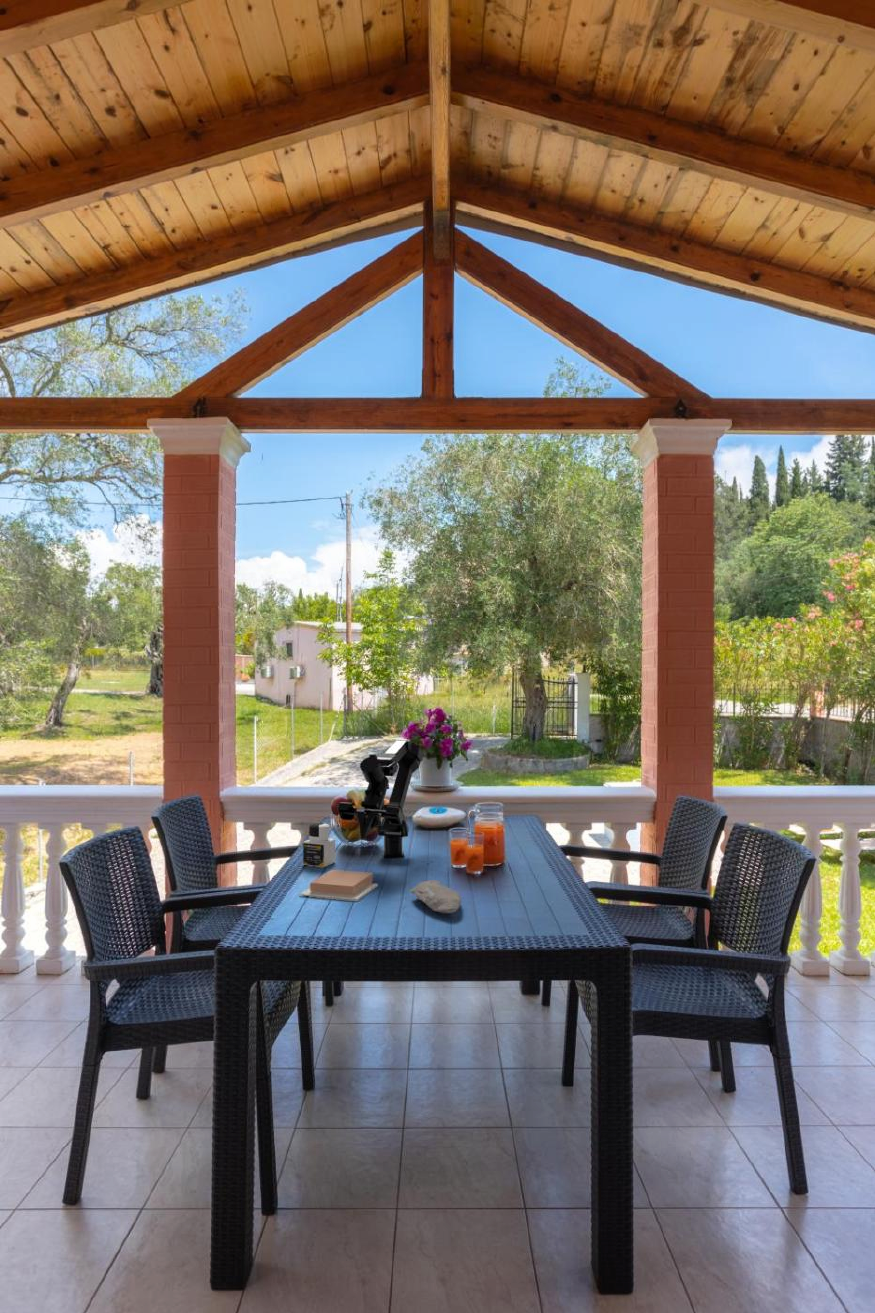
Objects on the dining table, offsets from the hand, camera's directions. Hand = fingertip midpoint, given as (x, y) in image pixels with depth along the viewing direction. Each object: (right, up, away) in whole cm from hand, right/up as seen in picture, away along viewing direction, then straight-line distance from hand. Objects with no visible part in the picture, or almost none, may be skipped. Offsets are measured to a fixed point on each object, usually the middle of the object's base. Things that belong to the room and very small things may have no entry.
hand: (362, 838), depth 233 cm
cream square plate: (-5, -10, -15) cm, 19 cm away
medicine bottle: (-14, -11, +14) cm, 23 cm away
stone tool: (+21, -11, -28) cm, 37 cm away
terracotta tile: (-2, -9, -7) cm, 11 cm away
